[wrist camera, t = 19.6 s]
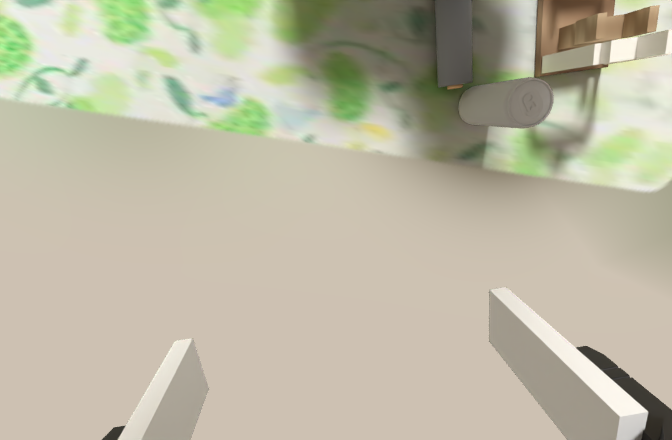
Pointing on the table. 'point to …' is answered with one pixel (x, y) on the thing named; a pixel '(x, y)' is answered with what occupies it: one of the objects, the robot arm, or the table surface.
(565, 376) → the robot arm
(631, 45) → the white bar frame
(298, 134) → the table surface
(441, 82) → the grey capped cylinder
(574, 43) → the cradle board
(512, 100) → the beverage can
